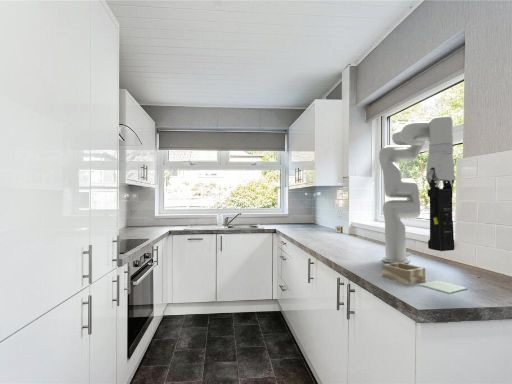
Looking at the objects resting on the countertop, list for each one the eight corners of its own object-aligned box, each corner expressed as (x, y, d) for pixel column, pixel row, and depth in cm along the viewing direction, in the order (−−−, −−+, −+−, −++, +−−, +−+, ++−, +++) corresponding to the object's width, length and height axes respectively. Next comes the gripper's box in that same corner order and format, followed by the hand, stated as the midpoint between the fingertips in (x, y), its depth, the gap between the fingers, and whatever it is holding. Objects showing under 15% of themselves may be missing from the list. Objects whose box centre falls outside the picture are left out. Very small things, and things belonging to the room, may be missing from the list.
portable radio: (440, 251, 104) (440, 181, 104) (425, 249, 110) (425, 182, 110) (455, 250, 107) (455, 182, 107) (440, 247, 113) (439, 183, 113)
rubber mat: (436, 281, 116) (436, 280, 116) (467, 289, 106) (467, 288, 106) (419, 285, 111) (419, 284, 111) (449, 293, 101) (449, 292, 101)
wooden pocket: (398, 273, 127) (398, 262, 127) (425, 280, 116) (425, 268, 116) (382, 276, 123) (382, 264, 123) (408, 284, 112) (408, 271, 112)
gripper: (444, 153, 116) (445, 197, 116) (416, 150, 108) (416, 198, 108) (465, 150, 110) (465, 197, 109) (436, 147, 102) (437, 198, 102)
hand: (441, 197), depth 109 cm, fingers closed on portable radio, 7 cm apart
